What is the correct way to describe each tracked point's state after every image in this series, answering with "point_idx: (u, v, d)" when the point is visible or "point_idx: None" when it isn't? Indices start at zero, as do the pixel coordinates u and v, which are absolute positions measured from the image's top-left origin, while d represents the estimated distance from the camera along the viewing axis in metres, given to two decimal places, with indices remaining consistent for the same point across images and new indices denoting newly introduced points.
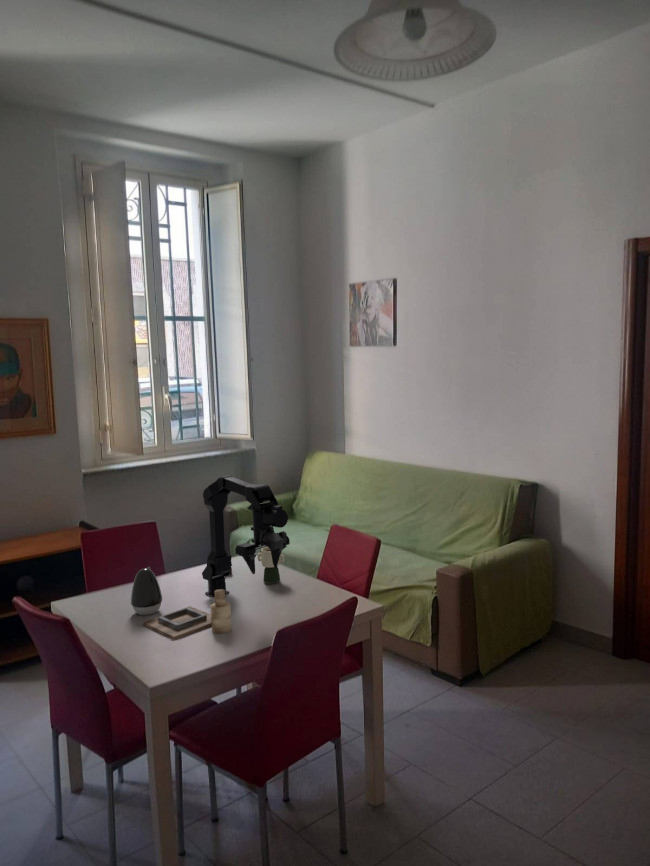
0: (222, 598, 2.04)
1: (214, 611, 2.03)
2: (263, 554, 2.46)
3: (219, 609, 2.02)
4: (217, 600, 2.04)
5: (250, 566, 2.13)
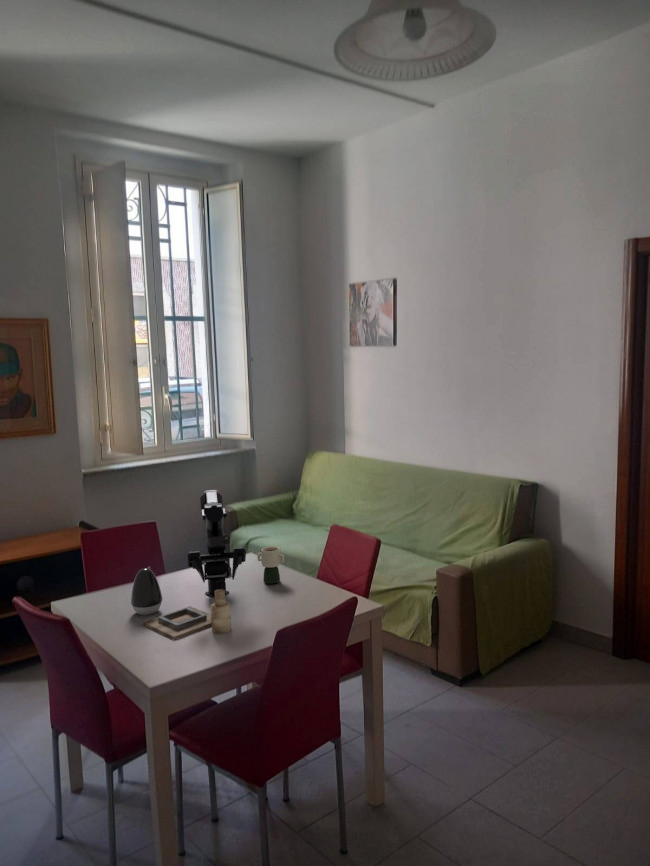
0: (222, 598, 2.04)
1: (214, 611, 2.03)
2: (263, 554, 2.46)
3: (219, 609, 2.02)
4: (217, 600, 2.04)
5: (200, 575, 2.13)
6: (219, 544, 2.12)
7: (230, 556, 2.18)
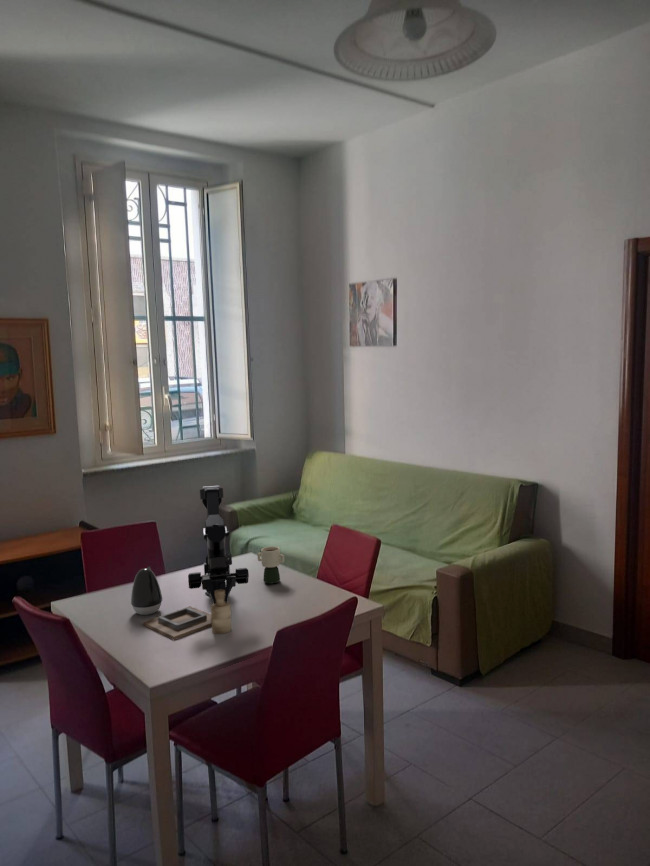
0: (222, 598, 2.04)
1: (214, 611, 2.03)
2: (263, 554, 2.46)
3: (219, 609, 2.02)
4: (217, 600, 2.04)
5: (211, 596, 2.05)
6: (221, 565, 2.03)
7: None
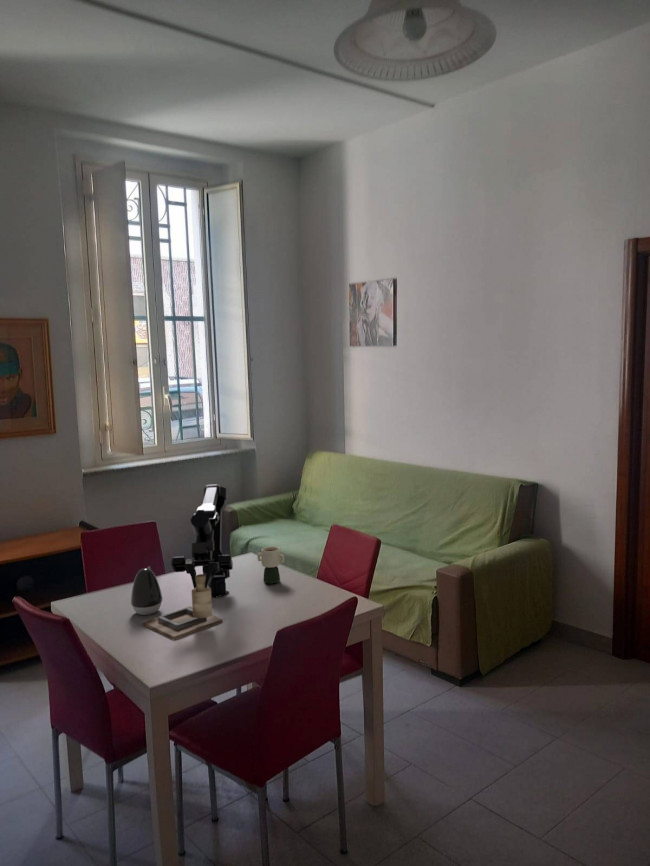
0: (202, 583, 2.05)
1: (193, 596, 2.05)
2: (263, 554, 2.46)
3: (198, 594, 2.04)
4: (197, 584, 2.05)
5: (192, 580, 2.07)
6: (201, 550, 2.05)
7: (216, 563, 2.10)
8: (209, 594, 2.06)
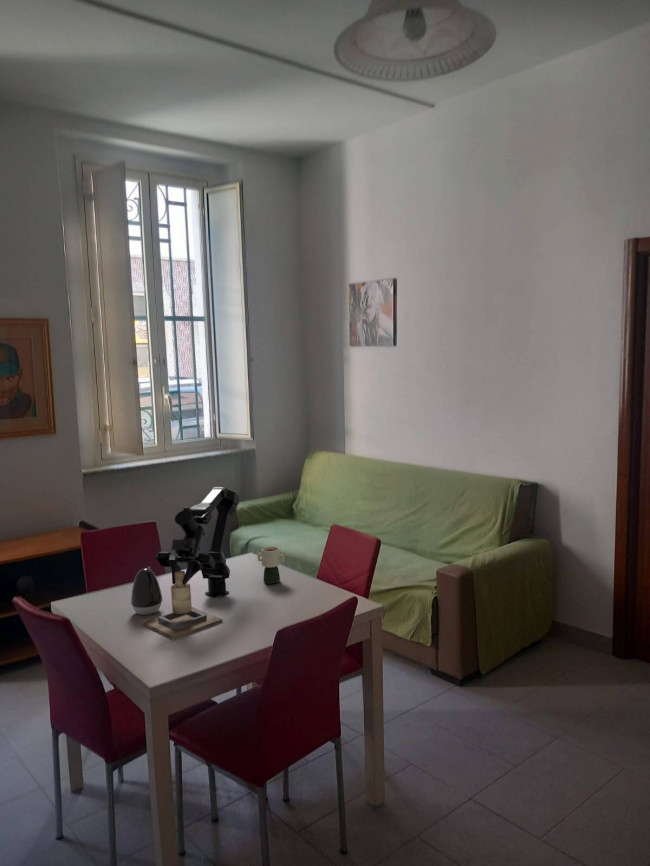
0: (179, 580, 2.09)
1: (171, 591, 2.09)
2: (263, 554, 2.46)
3: (175, 590, 2.08)
4: (175, 580, 2.10)
5: None
6: (179, 548, 2.09)
7: None
8: (186, 591, 2.09)
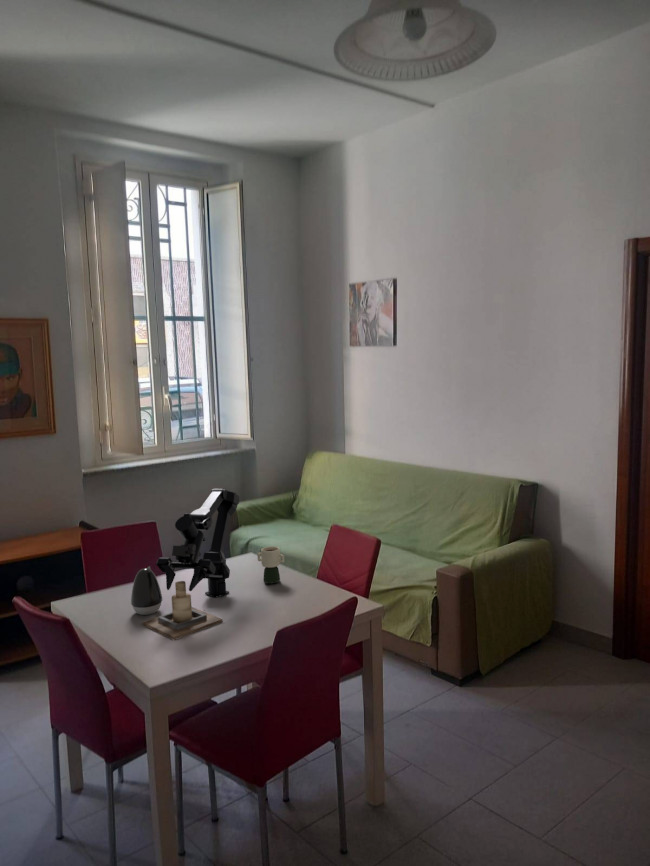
0: (180, 590, 2.10)
1: (172, 601, 2.10)
2: (263, 554, 2.46)
3: (176, 600, 2.09)
4: (176, 591, 2.10)
5: None
6: (180, 553, 2.09)
7: (197, 567, 2.13)
8: (187, 601, 2.10)
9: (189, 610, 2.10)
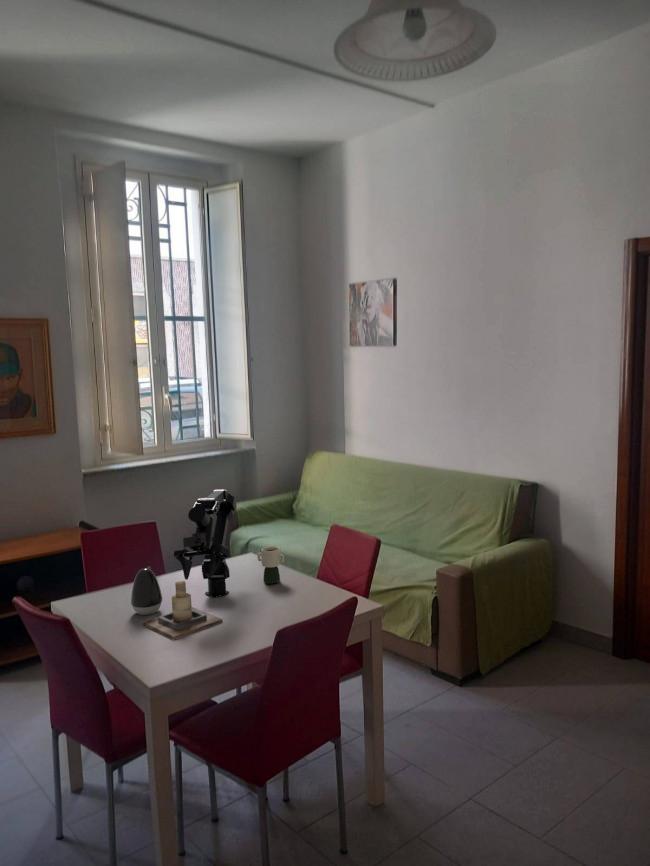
0: (180, 590, 2.09)
1: (172, 601, 2.10)
2: (263, 554, 2.46)
3: (176, 600, 2.08)
4: (176, 591, 2.10)
5: None
6: (190, 545, 2.14)
7: (211, 552, 2.18)
8: (187, 601, 2.09)
9: (189, 610, 2.10)
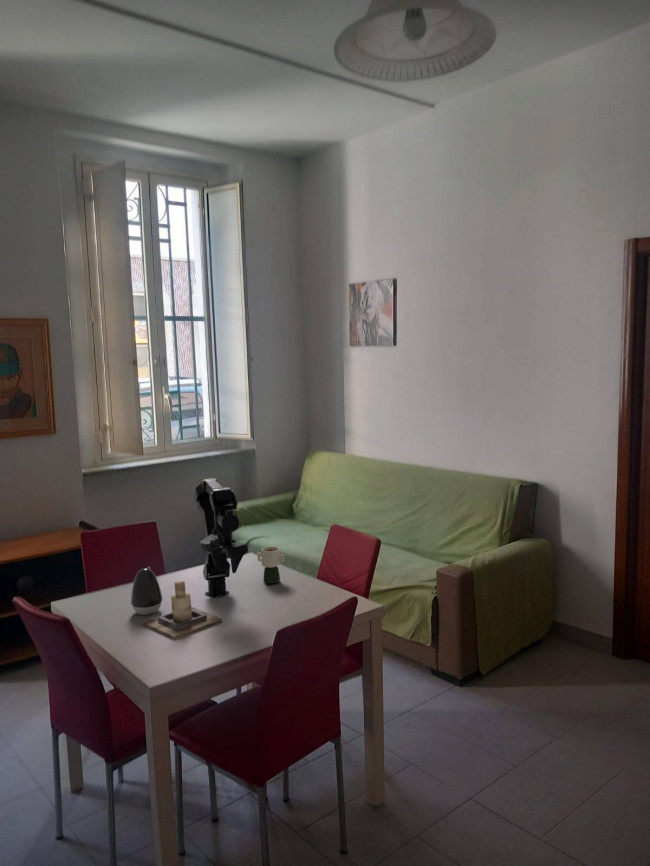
0: (179, 590, 2.09)
1: (171, 601, 2.10)
2: (263, 554, 2.46)
3: (175, 600, 2.09)
4: (175, 591, 2.10)
5: None
6: (207, 550, 2.17)
7: None
8: (186, 601, 2.09)
9: (189, 610, 2.10)
